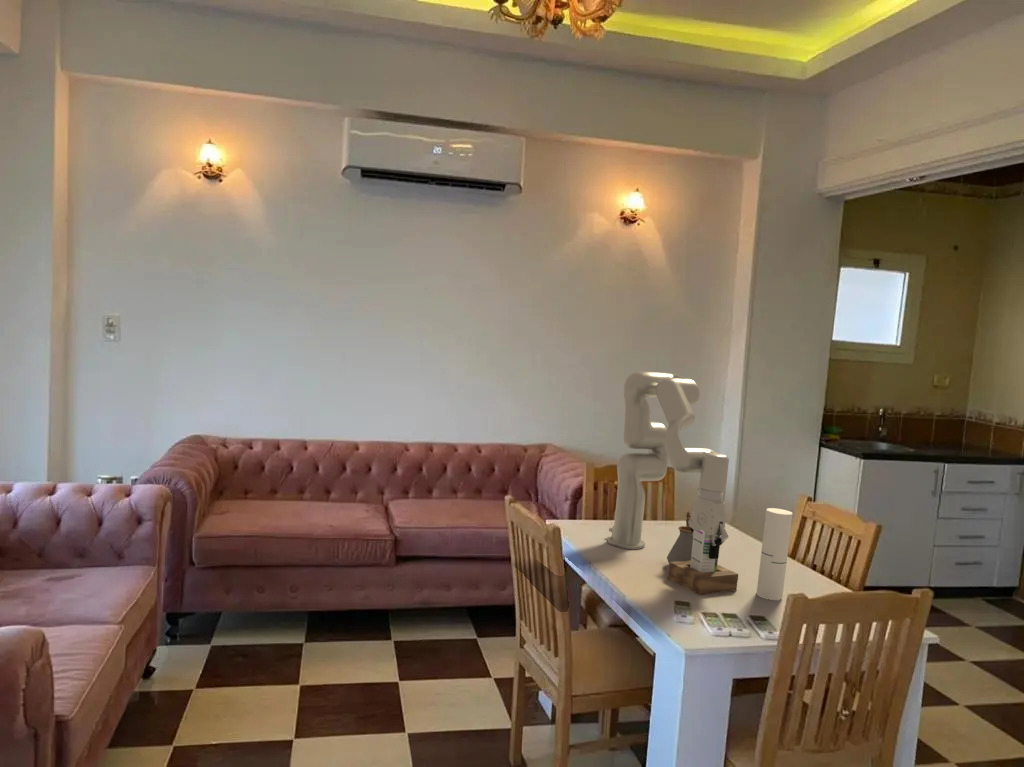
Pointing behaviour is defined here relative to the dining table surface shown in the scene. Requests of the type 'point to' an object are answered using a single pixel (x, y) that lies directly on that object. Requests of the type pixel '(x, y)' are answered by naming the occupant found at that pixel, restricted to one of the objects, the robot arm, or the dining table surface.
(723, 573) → the mount block
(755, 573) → the dining table surface
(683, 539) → the coffee pot
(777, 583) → the cylindrical container
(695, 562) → the syrup box
